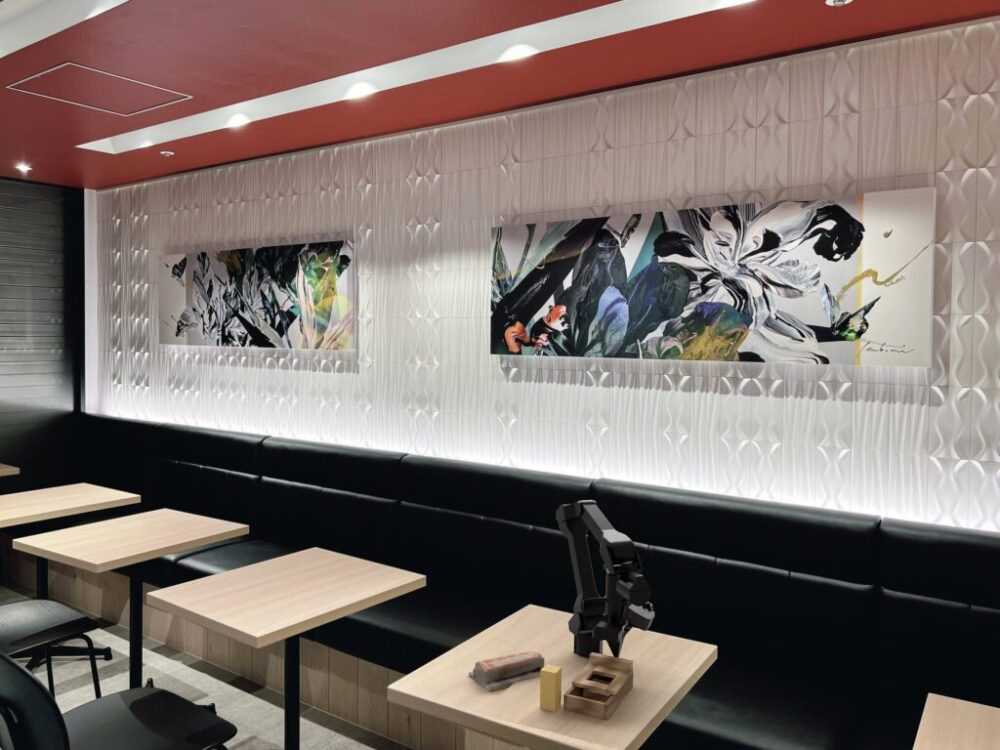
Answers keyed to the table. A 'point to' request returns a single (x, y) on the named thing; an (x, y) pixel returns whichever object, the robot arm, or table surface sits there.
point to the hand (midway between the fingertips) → (616, 657)
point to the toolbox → (595, 698)
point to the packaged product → (507, 670)
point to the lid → (605, 673)
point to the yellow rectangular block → (550, 687)
